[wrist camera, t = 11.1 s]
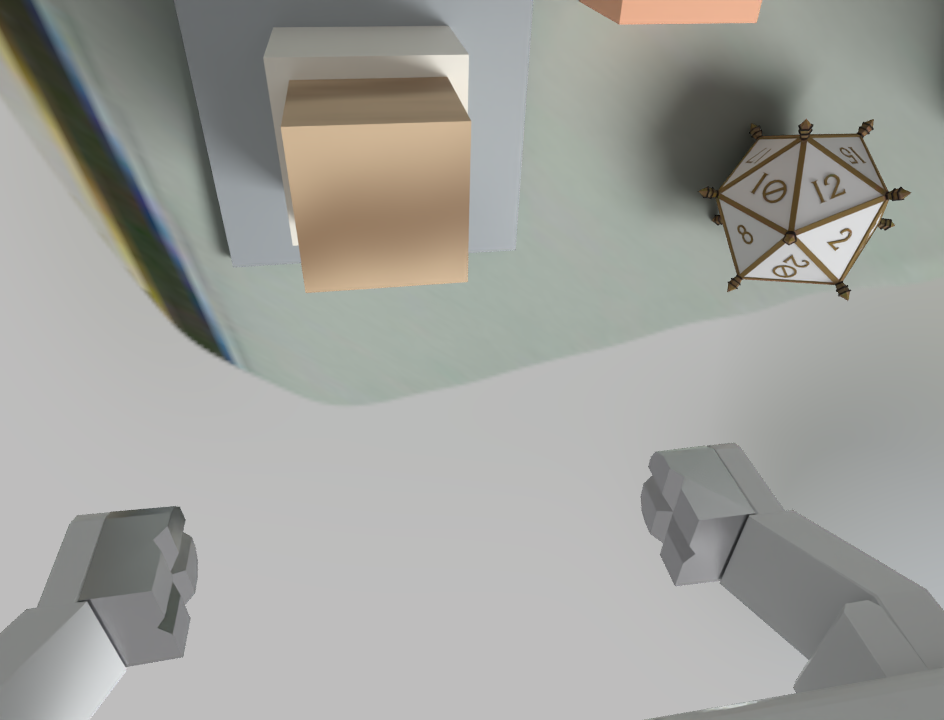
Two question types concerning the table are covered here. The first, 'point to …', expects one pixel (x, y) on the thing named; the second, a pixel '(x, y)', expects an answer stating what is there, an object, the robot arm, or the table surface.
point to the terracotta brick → (677, 11)
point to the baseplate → (253, 127)
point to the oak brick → (378, 181)
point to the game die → (802, 207)
